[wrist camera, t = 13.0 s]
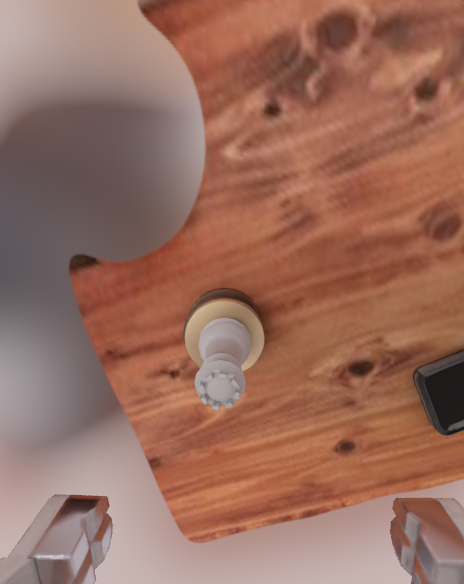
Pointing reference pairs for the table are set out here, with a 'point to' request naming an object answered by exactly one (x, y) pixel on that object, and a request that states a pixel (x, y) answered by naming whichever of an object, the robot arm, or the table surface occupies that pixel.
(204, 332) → the rook chess piece
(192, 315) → the chip pile
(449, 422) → the phone
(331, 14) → the table surface
